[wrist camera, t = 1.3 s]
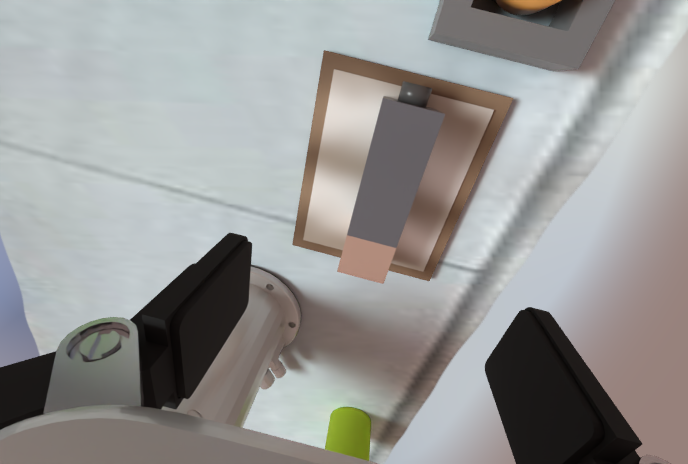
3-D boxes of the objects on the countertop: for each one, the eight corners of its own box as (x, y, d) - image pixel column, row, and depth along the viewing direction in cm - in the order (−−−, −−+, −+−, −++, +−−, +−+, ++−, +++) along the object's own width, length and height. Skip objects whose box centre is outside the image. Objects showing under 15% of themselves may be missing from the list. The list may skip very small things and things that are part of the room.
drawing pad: (428, 277, 29) (429, 282, 28) (294, 241, 29) (291, 245, 29) (509, 97, 21) (514, 98, 20) (325, 51, 21) (323, 49, 21)
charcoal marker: (383, 258, 28) (383, 283, 24) (343, 247, 28) (337, 271, 24) (441, 91, 21) (453, 93, 17) (388, 77, 21) (388, 76, 17)
